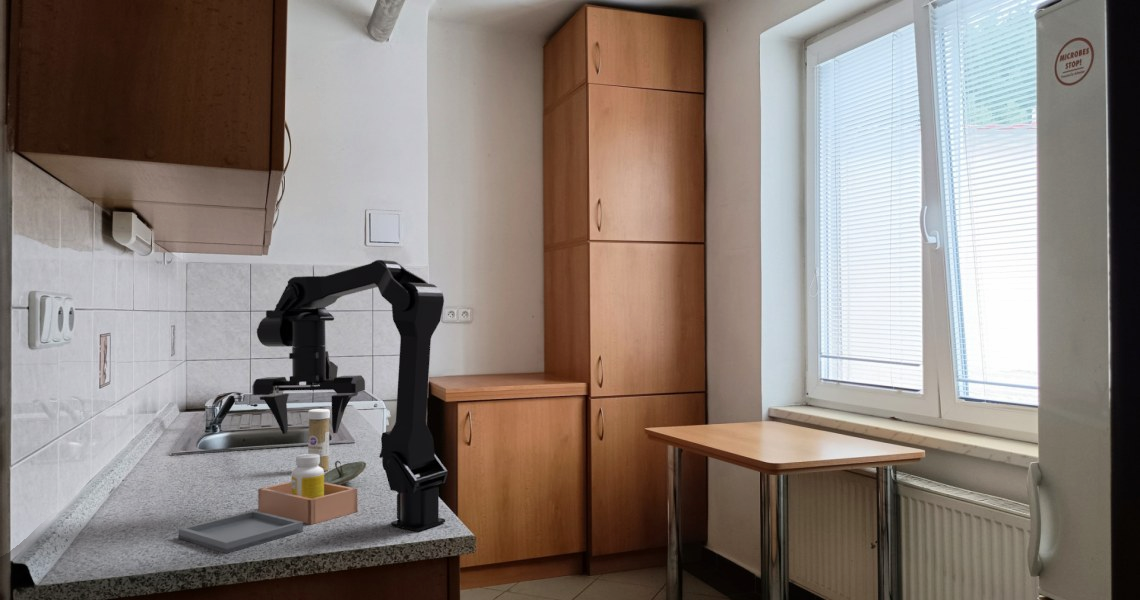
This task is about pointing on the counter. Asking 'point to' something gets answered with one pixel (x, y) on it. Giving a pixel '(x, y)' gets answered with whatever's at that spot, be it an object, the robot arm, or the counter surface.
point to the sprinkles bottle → (319, 435)
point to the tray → (240, 531)
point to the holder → (307, 503)
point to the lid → (344, 472)
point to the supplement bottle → (308, 476)
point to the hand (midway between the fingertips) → (310, 433)
